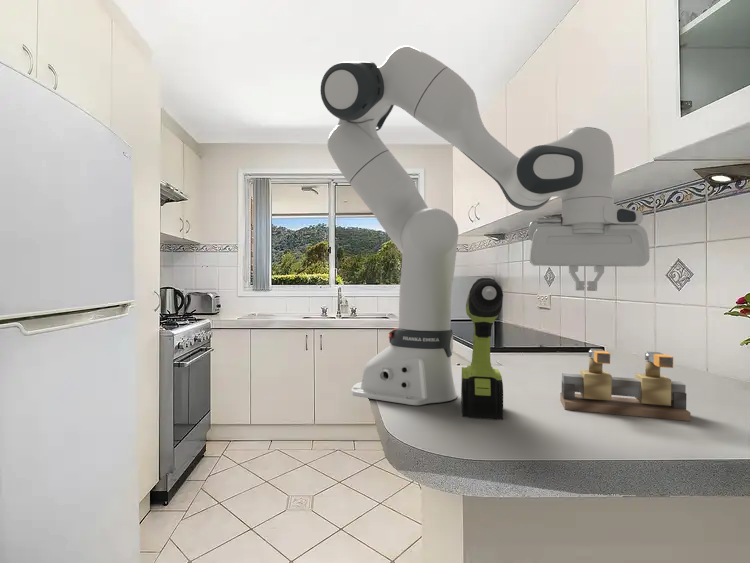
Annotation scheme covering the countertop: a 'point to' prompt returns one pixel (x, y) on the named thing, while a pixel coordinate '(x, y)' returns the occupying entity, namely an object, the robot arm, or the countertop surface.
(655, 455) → the countertop surface
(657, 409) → the valve manifold
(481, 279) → the cordless drill
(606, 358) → the left valve lever
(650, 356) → the right valve lever
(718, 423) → the countertop surface
